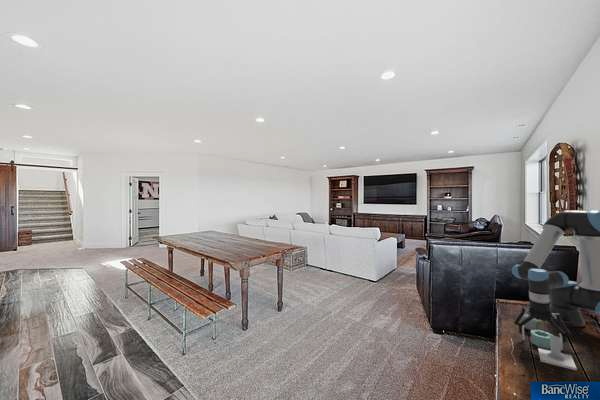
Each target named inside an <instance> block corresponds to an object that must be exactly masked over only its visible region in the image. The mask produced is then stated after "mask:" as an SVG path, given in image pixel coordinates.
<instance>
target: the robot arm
mask: <svg viewBox="0 0 600 400" xmlns="http://www.w3.org/2000/svg"><path fill="white" fill-rule="evenodd" d="M567 232H574V236H575V237H576V238H578V241H579V253H580V254H579V255H580V257H579V258H580V265H581V266H580V268H581V283H579V284H578V282H577V281H573V280H569V277H568V275H567V274H565V273H564V272H563V271H559V270H546V269H542V268H541V267H542V266H543V264H544V263H545V261H546V259H547V258H548V256H549V255H550V253H551V251H552V250H553V248H554V247H555V245H556V243H557V242H558V240H559V239H560V237H562V236H565V234H566V233H567ZM511 273H512V275H513V276H514V277H515V278H517V279H521V280H525V281H528V297H529V298H528V299H529V308H526V307H525V306H522V307H521V311H520V312H519V314H518V315H517V317H516V318H515V319H514V322H513V323H514V325H517V326H518V331H519V333H521V336H522V337H521V338H522V341H525V339H526V338H525V328H524V326H523V325H524V324H526V323H527V322H529V321H530V320H532V319H534V318H535V319H537V320H541V321H543V322H545V321H547V322H548V323H549V324H550V325H551V326H552V327H553V328H554V329H555V330H556V331H557V332H558V333H559V338H560V349H561V351H563V350H564V348H563V347H564V345H563V344H566V343H567V339H566V337H571V336H572V334H571V331H570V330H569V328H568V327H573V328H580V327H581V328H583V327H585V326H586V322H585V319H584V318H583V316H582V312H581V311H580V309H582V310H585V311H589V312H592V313H595V314H597V315H600V210H589V209H587V210H586V209H585V210H572V209H571V210H570V209H569V210H562V211H560V212H557V213H555V214H553V215H552V216H551V217H550V218H548V219H547V220H546V221H545V222H544V223H543V225H542V231H541V233H540V234H539V235H538V237H537V239H536V241H535V242H534V243H533V245H532V247H531V249H530V250H529V251H528V253H527V255H526V257H524V259H523V261H522V262H521V264H518V263H517V264H515V265H513V266H512V268H511ZM527 312H529V314H528V315H529V316H528V317H527V318H525V319H524V320H523V321H521V322H520V319H521V318H522V316H523V315H524V314H527ZM557 324H559V325H560V326H561V327H562V328H561V327H560V326H558V325H557Z"/></svg>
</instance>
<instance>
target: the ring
mask: <svg viewBox="0 0 600 400" xmlns="http://www.w3.org/2000/svg"><path fill="white" fill-rule="evenodd" d="M550 335H553V334H552V333H549V332H548V331H545V330H544V331H541V330H530V338H531V339H530V342H531V344H533V345H534V346H536V347H537V348H542V349H546V350H549V349H550V350H551V347H550Z"/></svg>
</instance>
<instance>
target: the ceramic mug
mask: <svg viewBox="0 0 600 400" xmlns="http://www.w3.org/2000/svg"><path fill="white" fill-rule="evenodd" d="M529 315H530V314H527V313H524V315H523V316H522V318H521V319H520V321H519V322H521V321H523V320H524V319H525V318H527V317H528V316H529ZM523 326H524V329H526V330H528V331H531V330H541V331H545V329H546V328H545V327H546V325H545V321H542V320H537V319H535V318H534V319H532V320H530V321H529V322H527V323H526V324H524V325H523Z"/></svg>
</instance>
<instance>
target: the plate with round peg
mask: <svg viewBox="0 0 600 400" xmlns="http://www.w3.org/2000/svg"><path fill="white" fill-rule="evenodd" d="M550 347H551V349H550V350H549V349H546V348H542V347H537V351H538V355H539V358H540V359H539V360H540V362H542V363H545V364H549V365H553V366H557V367H562V368H564V369H568V370H573V371H576V372H578V371H577V370H578V368H577V366H576V364H575V361H574V358H573V357H572V354H568V353H567V354H566V353H563V352H561V351H562V350H561V349H560V336H556V335H553V334H552V335H550Z"/></svg>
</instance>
